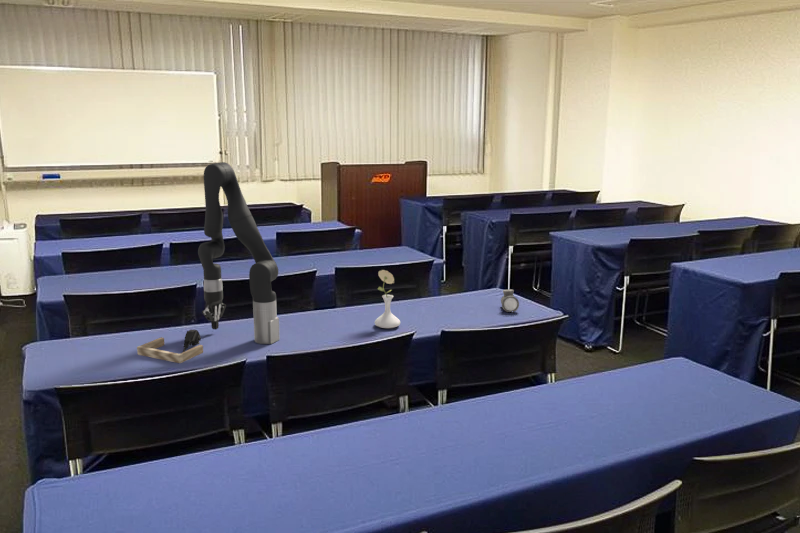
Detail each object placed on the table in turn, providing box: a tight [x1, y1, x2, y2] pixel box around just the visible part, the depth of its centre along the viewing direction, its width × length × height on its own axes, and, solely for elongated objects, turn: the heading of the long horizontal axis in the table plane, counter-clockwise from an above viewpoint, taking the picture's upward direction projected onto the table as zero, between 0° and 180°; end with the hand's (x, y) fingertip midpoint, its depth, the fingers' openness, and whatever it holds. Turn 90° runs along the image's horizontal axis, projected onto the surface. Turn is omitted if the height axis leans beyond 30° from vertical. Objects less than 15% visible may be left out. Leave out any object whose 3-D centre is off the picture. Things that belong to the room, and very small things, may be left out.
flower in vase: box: [374, 269, 401, 329], centre depth 280 cm, size 13×11×25 cm
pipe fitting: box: [500, 288, 520, 313], centre depth 309 cm, size 12×8×10 cm
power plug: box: [182, 329, 202, 352], centre depth 253 cm, size 6×8×12 cm
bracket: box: [136, 337, 204, 364], centre depth 246 cm, size 21×12×3 cm, turn 66°
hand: (215, 328), depth 269 cm, fingers closed
